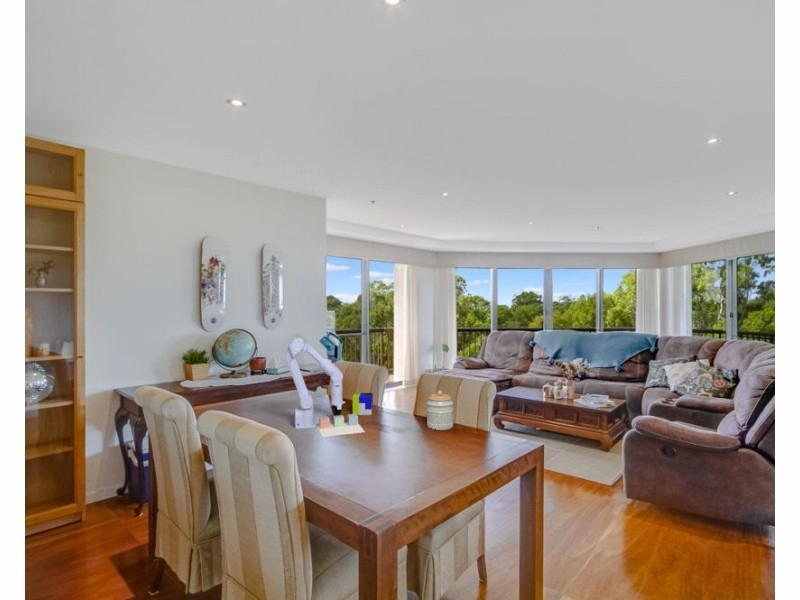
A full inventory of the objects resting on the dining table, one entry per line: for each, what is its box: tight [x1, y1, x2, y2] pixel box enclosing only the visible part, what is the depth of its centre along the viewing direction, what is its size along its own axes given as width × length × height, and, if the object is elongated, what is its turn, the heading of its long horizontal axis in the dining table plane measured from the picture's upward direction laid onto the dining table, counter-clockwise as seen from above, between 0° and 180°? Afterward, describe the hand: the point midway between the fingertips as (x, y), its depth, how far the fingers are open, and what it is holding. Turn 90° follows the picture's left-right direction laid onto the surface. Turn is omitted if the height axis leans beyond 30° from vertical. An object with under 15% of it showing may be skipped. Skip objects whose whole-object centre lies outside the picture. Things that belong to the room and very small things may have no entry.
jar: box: [426, 390, 454, 431], centre depth 209 cm, size 13×13×18 cm
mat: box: [317, 422, 366, 438], centre depth 206 cm, size 20×18×1 cm
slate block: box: [346, 413, 359, 426], centre depth 213 cm, size 4×4×4 cm
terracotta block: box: [318, 415, 331, 429], centre depth 208 cm, size 4×4×4 cm
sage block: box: [332, 414, 345, 427], centre depth 210 cm, size 4×4×4 cm
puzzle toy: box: [352, 392, 374, 416], centre depth 235 cm, size 10×10×10 cm
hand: (337, 420), depth 215 cm, fingers closed
